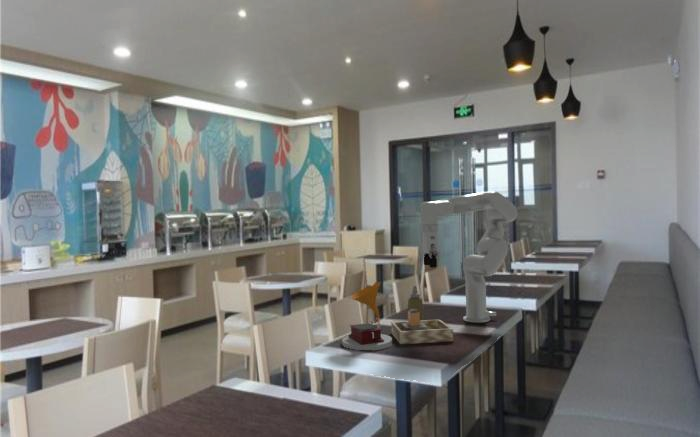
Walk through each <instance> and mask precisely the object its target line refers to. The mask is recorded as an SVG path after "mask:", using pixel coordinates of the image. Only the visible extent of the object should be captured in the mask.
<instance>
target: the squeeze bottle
mask: <svg viewBox="0 0 700 437" xmlns="http://www.w3.org/2000/svg"><path fill="white" fill-rule="evenodd" d="M410 309H417V310H418V312H419V313H420V321H422V320H424V318H425V312H424V304H423V298H421V294H420V293H419V292H418V289H417V285H413V286H412V292H410V294H409V298H408V300H407V314H406V317H407V318H408V312H409V311H410Z"/></svg>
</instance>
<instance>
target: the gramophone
mask: <svg viewBox="0 0 700 437" xmlns="http://www.w3.org/2000/svg"><path fill="white" fill-rule="evenodd" d="M381 283H382V281H378V282H375V283H373V285H369V284H368V285H366V286H365V287H364V288H363V289H358V290H357V292H356V293H355V294H351V295H350V298H349V300H355V301H356V302H359V303H361V304H363V305H366V306H368V307H369V308H370V309H371V311H373V313H374V314H375V315H376V318H375V321H371V323H370V322H366V323H359V324H350V325H349V327H350V332H351V333H350V334H348V335H347V336H344V337H343V338H342V339H341V345H342V346H344V347H343V348H345V347H346V348H345V349H347V348H350V349H349V350H351V349H355V350H354V351H359V350H372V351H378V350H379V351H380V350H384V349H387V348H390V347H391V346H392V345H393V337H392V336H390V335H387V334H382V331H383V329H382V328H380V327H381V325H380V321H381V320H380V319H381V318H380V311H379V309H378V306H377V302H376V301H377V297H378V292H379V291H378V290H379V288H380V285H381ZM375 324H376V325H377V326H376V325H375Z"/></svg>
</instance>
